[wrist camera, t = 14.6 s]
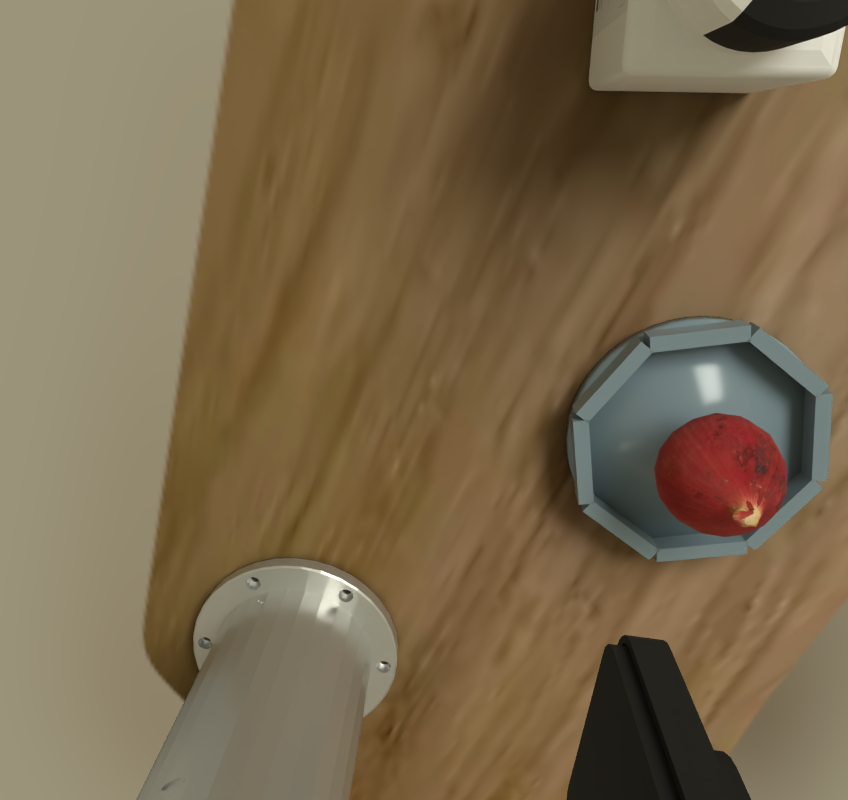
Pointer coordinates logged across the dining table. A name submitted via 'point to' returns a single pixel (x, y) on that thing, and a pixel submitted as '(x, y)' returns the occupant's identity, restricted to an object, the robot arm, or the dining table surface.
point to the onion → (721, 475)
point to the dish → (678, 404)
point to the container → (714, 44)
